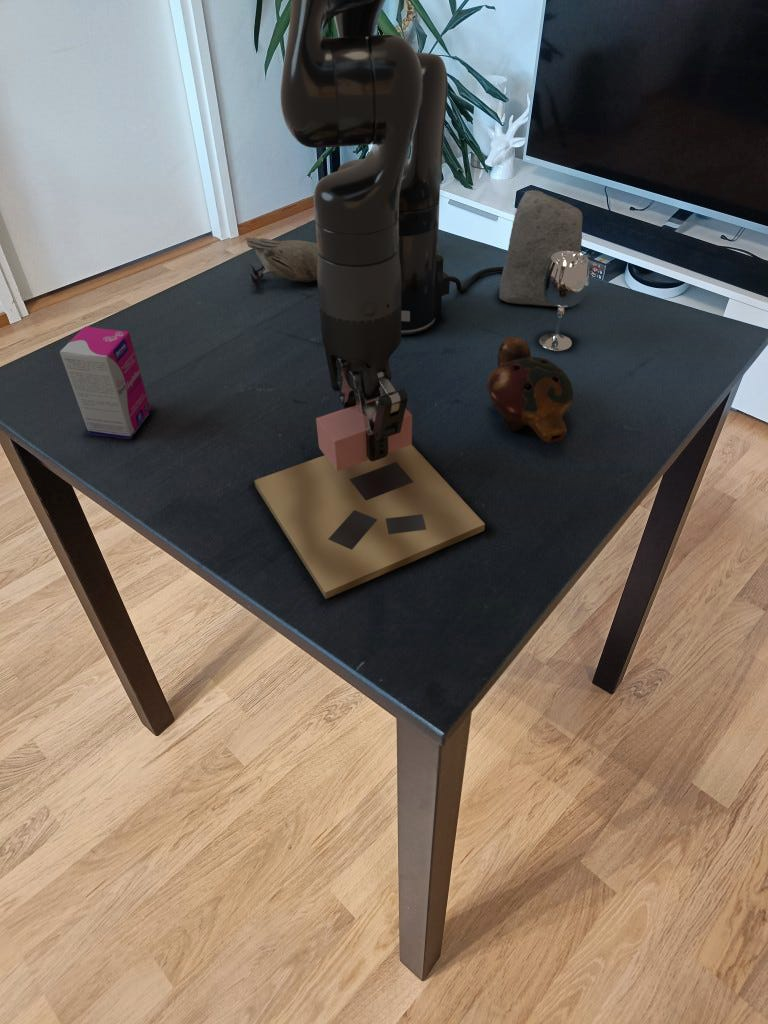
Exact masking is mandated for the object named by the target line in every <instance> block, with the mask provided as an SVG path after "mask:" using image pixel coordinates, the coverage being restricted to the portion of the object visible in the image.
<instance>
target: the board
mask: <svg viewBox="0 0 768 1024" xmlns="http://www.w3.org/2000/svg"><path fill="white" fill-rule="evenodd" d="M253 481H254V487H255V489H256V490H257V492H258V493H259V495H260V496H261V498H262V500H263V501H264V503H265V504H266V506H267V508H268V509H269V511H270V512H271V514H272V516H273V517H274V519H275V521H276V522H277V524H278V525H279V527H280V529H281V530H282V531H283V533H284V534H285V536H286V538H287V539H288V541H289V543H290V544H291V546H292V548H293V549H294V551H295V552H296V555H297V556H298V557H299V559H300V561H301V562H302V564H303V565H304V566H305V568H306V570H307V571H308V573H309V575H310V577H311V578H312V579H313V581H314V583H315V584H316V586H317V588H318V589H319V591H320V592H321V594H322V596H323V597H324V599H326V600H327V599H330V598H332V597H334V596H336V595H340V594H341V593H343V592H345V591H348V590H350V589H352V588H355V587H357V586H360V585H362V584H364V583H366V582H369V581H371V580H374V579H376V578H379V577H380V576H382V575H386V574H388V573H390V572H392V571H394V570H397V569H399V568H401V567H403V566H406V565H408V564H411V563H413V562H416V561H417V560H419V559H422V558H424V557H427V556H429V555H432V554H434V553H436V552H438V551H441V550H443V549H445V548H447V547H450V546H452V545H454V544H457V543H459V542H461V541H464V540H467V539H468V538H472V537H473V536H476V535H478V534H480V533H482V532H484V531H485V529H486V523H484V521H483V520H482V519H481V518H480V517H479V516H478V515H477V514H476V513H475V511H474V510H473V509H472V508H471V507H470V506H469V505H468V504H467V503H466V502H465V501H464V500H463V498H462V497H461V496H460V495H459V494H458V493H457V492H456V491H455V490H454V489H453V487H452V486H451V485H450V484H449V483H448V482H447V481H446V480H445V479H444V478H443V477H442V476H441V474H440V473H439V472H438V471H437V470H436V469H435V468H434V467H433V466H432V464H431V463H430V462H429V461H427V459H426V458H425V457H424V456H423V455H422V454H421V453H420V452H419V451H418V449H417V448H416V447H415V446H414V445H413V443H412V444H411V445H409V446H406V447H403V448H401V449H398V450H395V451H392V452H390V453H388V455H387V456H386V457H384V458H381V459H379V460H376V461H370V460H367V461H365V462H362V463H359V464H356V465H353V466H351V467H348V468H345V469H342V470H340V471H336V469H335V468H334V467H333V465H332V464H331V463H330V461H329V460H328V459H327V458H326V456H325V455H324V454H323V455H321V456H319V457H315V458H313V459H310V460H307V461H304V462H302V463H298V464H296V465H293V466H291V467H288V468H285V469H282V470H279V471H277V472H274V473H271V474H268V475H265V476H263V477H259V478H257V479H254V480H253Z"/></svg>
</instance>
